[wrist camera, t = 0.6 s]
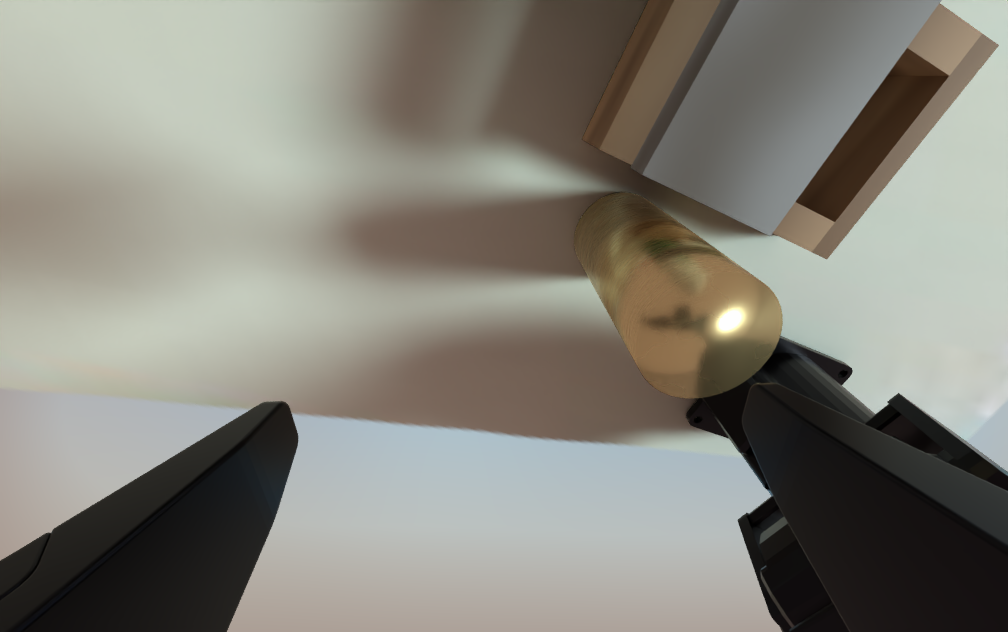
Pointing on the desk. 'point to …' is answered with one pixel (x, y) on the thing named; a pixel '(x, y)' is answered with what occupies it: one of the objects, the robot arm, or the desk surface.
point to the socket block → (784, 104)
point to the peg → (676, 298)
